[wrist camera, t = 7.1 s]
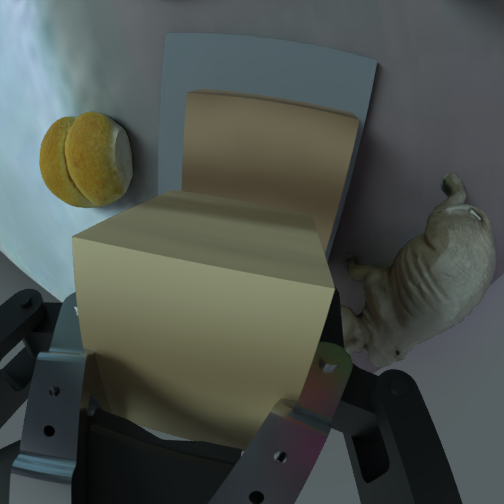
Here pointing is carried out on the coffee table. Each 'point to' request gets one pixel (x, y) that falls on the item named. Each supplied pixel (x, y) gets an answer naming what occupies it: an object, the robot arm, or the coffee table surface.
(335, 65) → the slate mat
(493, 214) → the coffee table surface
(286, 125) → the tan flat square slab
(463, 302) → the rhinoceros figurine
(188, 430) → the oak block
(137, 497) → the robot arm
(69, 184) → the bread roll
